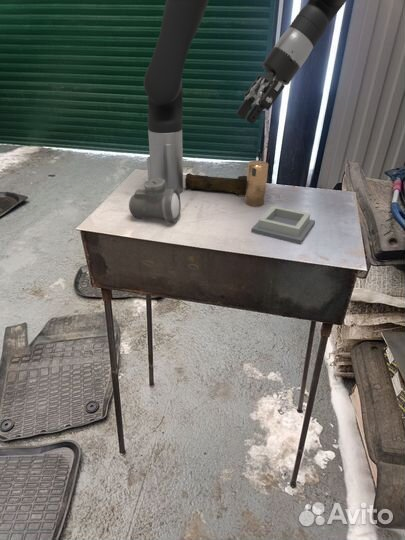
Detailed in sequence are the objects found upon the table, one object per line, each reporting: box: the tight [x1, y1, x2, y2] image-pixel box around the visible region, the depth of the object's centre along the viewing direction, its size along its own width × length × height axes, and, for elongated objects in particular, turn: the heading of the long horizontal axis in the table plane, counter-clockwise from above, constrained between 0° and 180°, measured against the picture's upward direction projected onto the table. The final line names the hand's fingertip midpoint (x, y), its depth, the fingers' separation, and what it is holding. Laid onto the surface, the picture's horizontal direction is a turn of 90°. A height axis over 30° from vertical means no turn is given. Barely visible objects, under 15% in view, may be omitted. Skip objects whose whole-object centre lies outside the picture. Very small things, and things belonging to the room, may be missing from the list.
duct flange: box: [250, 205, 316, 245], centre depth 92 cm, size 12×12×3 cm
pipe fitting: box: [128, 178, 182, 223], centre depth 94 cm, size 12×8×10 cm
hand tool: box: [184, 172, 247, 197], centre depth 110 cm, size 23×5×6 cm, turn 73°
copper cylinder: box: [244, 160, 269, 208], centre depth 102 cm, size 5×5×11 cm
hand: (243, 119), depth 91 cm, fingers open, 8 cm apart
